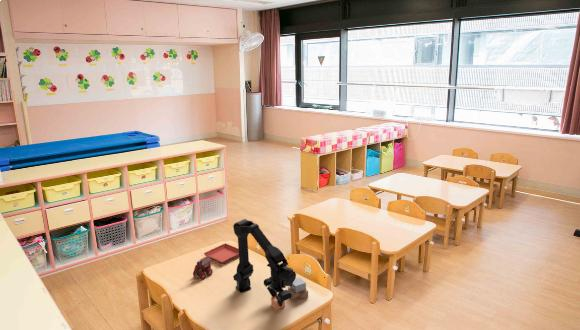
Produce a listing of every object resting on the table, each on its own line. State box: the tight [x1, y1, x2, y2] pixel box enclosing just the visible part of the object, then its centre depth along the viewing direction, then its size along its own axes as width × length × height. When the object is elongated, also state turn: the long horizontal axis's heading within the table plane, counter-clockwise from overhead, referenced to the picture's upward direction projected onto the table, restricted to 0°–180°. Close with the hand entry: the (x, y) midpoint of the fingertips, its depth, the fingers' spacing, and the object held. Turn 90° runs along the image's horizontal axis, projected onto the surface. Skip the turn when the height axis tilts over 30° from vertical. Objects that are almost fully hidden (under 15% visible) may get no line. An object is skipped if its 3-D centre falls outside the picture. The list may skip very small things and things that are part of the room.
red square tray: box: [203, 243, 239, 265], centre depth 256 cm, size 18×18×3 cm
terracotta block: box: [270, 296, 286, 311], centre depth 204 cm, size 5×5×4 cm
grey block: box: [290, 277, 307, 293], centre depth 212 cm, size 6×6×4 cm
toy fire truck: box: [192, 256, 214, 281], centre depth 234 cm, size 7×12×10 cm, turn 143°
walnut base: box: [287, 286, 309, 302], centre depth 213 cm, size 8×8×4 cm
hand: (278, 303), depth 205 cm, fingers closed on terracotta block, 5 cm apart
